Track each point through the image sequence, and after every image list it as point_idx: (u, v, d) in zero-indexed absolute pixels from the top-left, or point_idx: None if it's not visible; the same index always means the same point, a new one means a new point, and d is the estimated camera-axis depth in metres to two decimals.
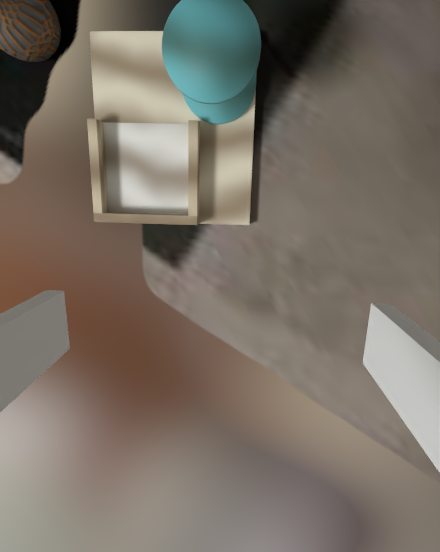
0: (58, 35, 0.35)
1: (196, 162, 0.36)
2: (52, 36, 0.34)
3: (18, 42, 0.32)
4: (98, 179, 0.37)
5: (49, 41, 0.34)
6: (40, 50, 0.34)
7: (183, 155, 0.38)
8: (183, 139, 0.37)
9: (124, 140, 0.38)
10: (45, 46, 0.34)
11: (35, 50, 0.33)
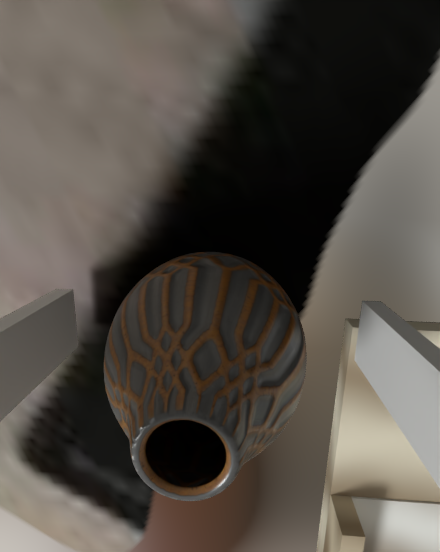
0: None
1: None
2: None
3: None
4: None
5: None
6: None
7: None
8: None
9: (394, 530, 0.17)
10: None
11: None
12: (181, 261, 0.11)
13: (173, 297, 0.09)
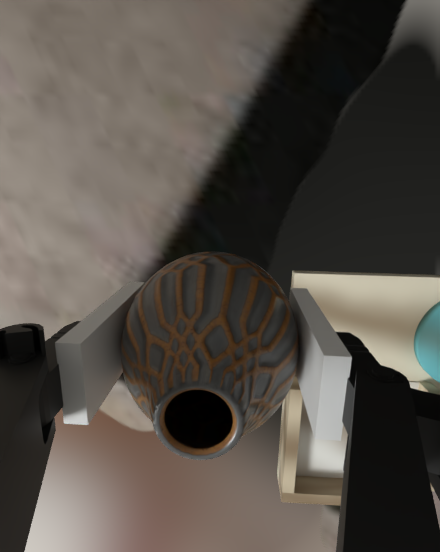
0: None
1: None
2: None
3: None
4: (294, 456, 0.28)
5: None
6: None
7: None
8: None
9: None
10: None
11: None
12: (190, 259, 0.12)
13: (186, 289, 0.10)
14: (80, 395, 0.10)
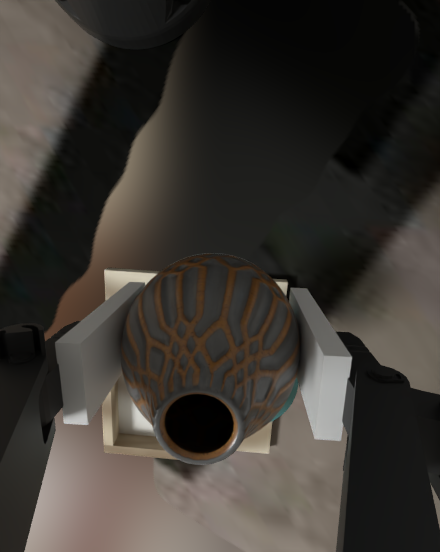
0: None
1: None
2: None
3: None
4: (110, 415, 0.35)
5: None
6: None
7: None
8: None
9: None
10: None
11: None
12: (191, 261, 0.12)
13: (186, 292, 0.10)
14: (80, 395, 0.10)
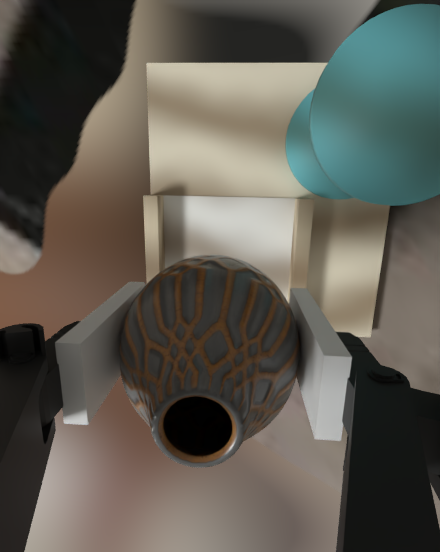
0: None
1: (307, 259, 0.24)
2: None
3: None
4: None
5: None
6: None
7: (280, 242, 0.26)
8: (282, 220, 0.25)
9: (193, 220, 0.26)
10: None
11: None
12: (190, 262, 0.12)
13: (185, 294, 0.10)
14: (80, 395, 0.10)
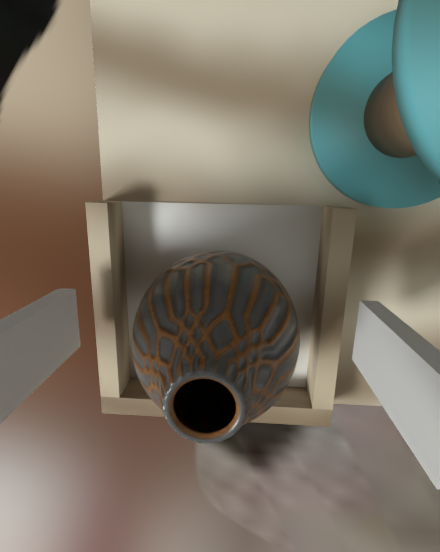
0: None
1: (343, 301, 0.15)
2: None
3: None
4: (111, 331, 0.17)
5: None
6: None
7: (299, 272, 0.17)
8: (302, 239, 0.17)
9: (168, 238, 0.17)
10: None
11: None
12: (198, 257, 0.13)
13: (193, 286, 0.11)
14: None
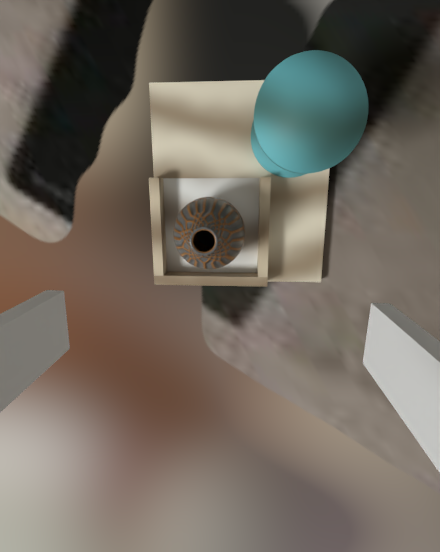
0: None
1: (268, 221, 0.33)
2: None
3: (217, 267, 0.31)
4: (159, 240, 0.34)
5: None
6: None
7: (250, 211, 0.35)
8: (250, 194, 0.34)
9: (185, 196, 0.35)
10: None
11: (225, 265, 0.32)
12: (200, 198, 0.31)
13: (199, 205, 0.29)
14: None
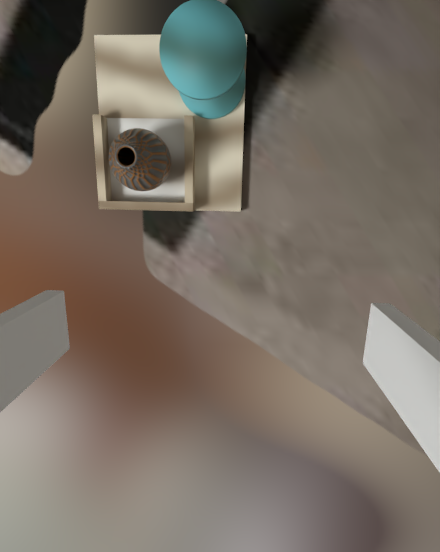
0: None
1: (191, 153, 0.40)
2: (167, 174, 0.39)
3: (143, 186, 0.37)
4: (102, 170, 0.41)
5: (165, 179, 0.39)
6: (157, 186, 0.39)
7: (180, 147, 0.41)
8: (180, 133, 0.41)
9: None
10: (161, 183, 0.39)
11: (153, 187, 0.39)
12: None
13: (127, 131, 0.36)
14: None
